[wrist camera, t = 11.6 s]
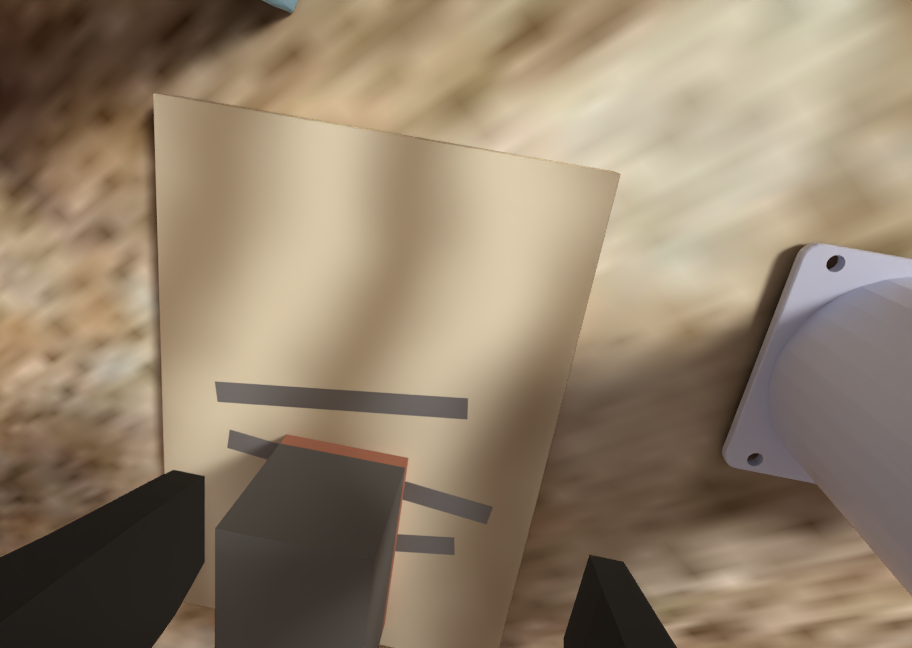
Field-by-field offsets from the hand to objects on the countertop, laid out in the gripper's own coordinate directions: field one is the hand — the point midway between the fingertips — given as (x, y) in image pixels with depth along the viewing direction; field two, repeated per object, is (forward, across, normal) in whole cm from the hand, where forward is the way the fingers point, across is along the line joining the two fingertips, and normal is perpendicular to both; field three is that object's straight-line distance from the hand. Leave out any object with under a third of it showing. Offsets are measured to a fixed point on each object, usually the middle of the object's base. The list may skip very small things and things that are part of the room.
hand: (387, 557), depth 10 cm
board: (+10, +3, +3) cm, 11 cm away
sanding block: (+9, +3, +8) cm, 12 cm away
